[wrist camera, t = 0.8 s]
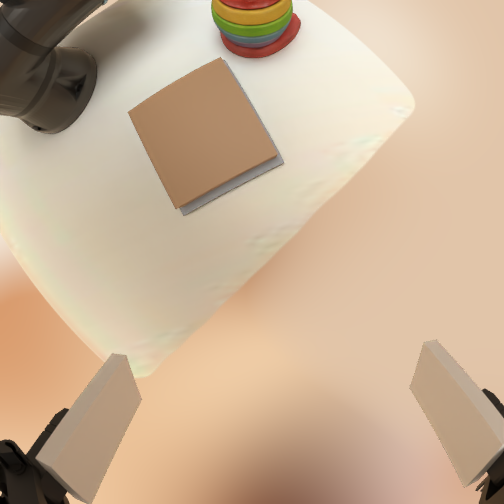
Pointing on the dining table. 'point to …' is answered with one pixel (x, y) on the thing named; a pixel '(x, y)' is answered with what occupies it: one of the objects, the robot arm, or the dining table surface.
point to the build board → (204, 136)
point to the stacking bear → (255, 25)
